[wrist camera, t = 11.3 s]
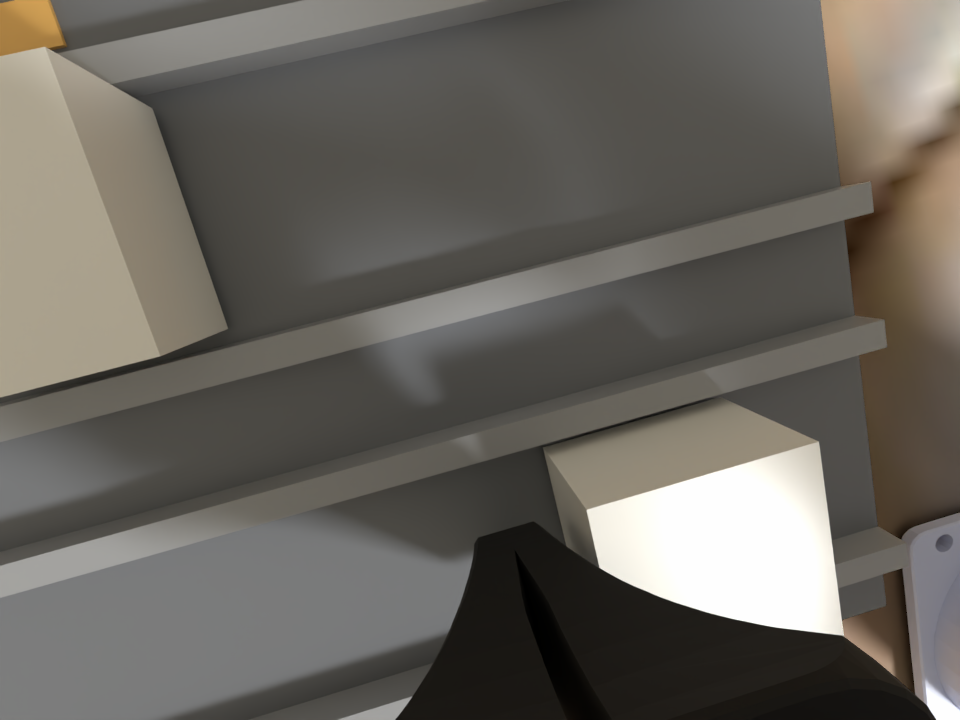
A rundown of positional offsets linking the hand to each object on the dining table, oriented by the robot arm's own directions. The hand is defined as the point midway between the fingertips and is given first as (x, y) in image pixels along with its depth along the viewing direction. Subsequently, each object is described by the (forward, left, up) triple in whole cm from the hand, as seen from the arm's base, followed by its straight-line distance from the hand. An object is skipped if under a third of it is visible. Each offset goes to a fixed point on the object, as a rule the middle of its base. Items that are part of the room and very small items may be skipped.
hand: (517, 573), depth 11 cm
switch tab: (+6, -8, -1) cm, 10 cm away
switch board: (+1, -4, -3) cm, 5 cm away
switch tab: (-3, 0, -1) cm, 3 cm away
